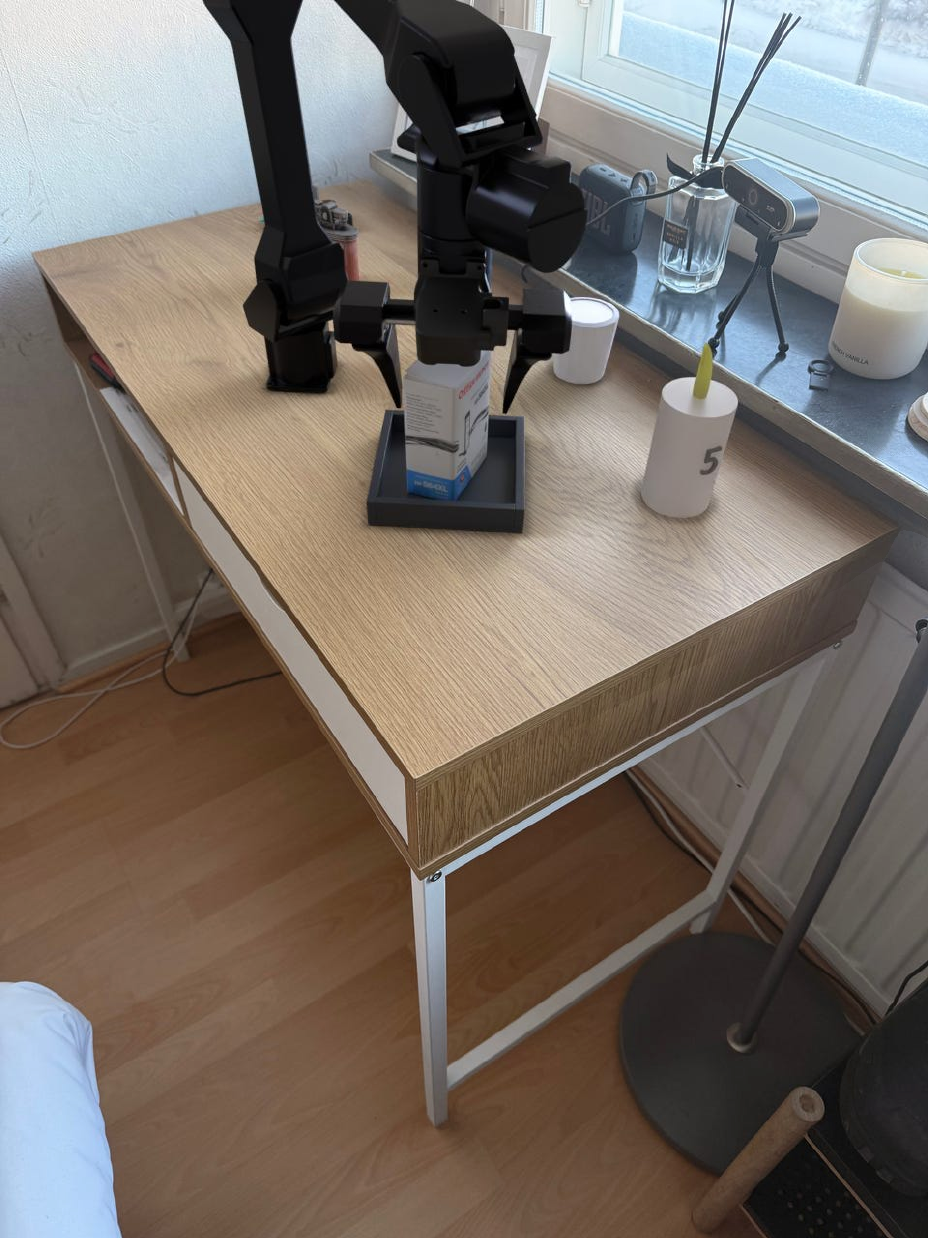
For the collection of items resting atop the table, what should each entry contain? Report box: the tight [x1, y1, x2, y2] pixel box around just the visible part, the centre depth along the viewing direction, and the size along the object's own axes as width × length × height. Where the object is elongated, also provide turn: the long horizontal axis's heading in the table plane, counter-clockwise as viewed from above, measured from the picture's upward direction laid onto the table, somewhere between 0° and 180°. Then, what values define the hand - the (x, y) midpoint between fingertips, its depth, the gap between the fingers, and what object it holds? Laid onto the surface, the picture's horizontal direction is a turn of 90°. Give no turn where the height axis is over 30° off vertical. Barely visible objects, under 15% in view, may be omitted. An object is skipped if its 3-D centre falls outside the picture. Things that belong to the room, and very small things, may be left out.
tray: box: [366, 409, 525, 534], centre depth 80 cm, size 14×15×3 cm
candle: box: [640, 342, 739, 519], centre depth 75 cm, size 6×6×15 cm
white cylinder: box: [552, 296, 620, 385], centre depth 93 cm, size 7×7×7 cm
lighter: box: [315, 199, 360, 281], centre depth 105 cm, size 8×3×10 cm, turn 58°
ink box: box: [402, 350, 493, 501], centre depth 77 cm, size 9×5×12 cm, turn 157°
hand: (452, 408), depth 76 cm, fingers open, 9 cm apart
